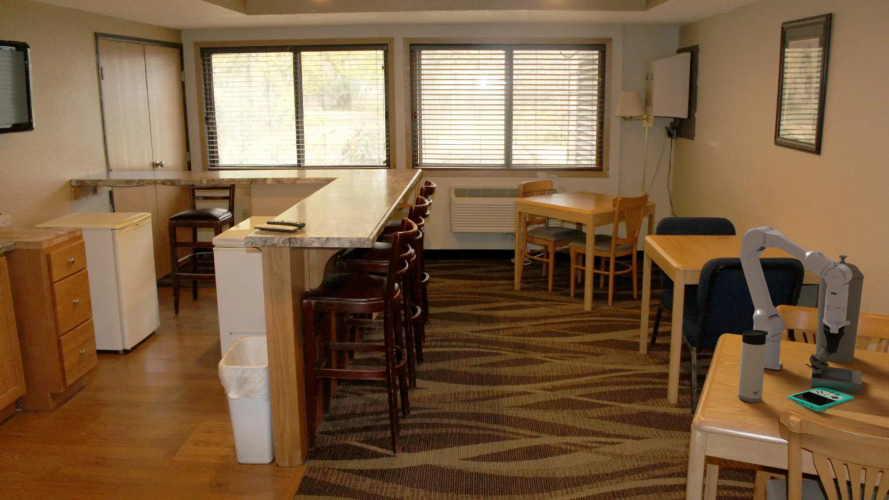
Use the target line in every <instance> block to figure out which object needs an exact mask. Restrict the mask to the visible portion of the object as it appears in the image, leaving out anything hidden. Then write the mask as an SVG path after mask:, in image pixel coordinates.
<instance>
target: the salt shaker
mask: <svg viewBox="0 0 889 500" xmlns="http://www.w3.org/2000/svg"><path fill="white" fill-rule="evenodd" d="M831 354H832V353H829V352H828V350H827V343H826V344H825V345H824V346H823V348H822V349H821V350H820V352H819V353H817V354H816V353H814V354H812V353H810V355H811V356H810V357H809V362H810V364H811V365H810V364H809V363H805V364H804V365H805V366H807V368H810V369H811V370H812V369H813V370H814V371H816V372H818V373H819V374H821V372H819V371H818V369H821V370H823V369H826V368H827V367H831V366H830V364H829V363H828V362H829V360H828V359H829V357H830V356H831ZM821 375H822V374H821Z"/></svg>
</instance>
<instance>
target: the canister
mask: <svg viewBox="0 0 889 500" xmlns="http://www.w3.org/2000/svg"><path fill="white" fill-rule="evenodd" d="M838 257H839V258H840V261H837V262H838V264H845V265H847V266H848V267H849V268H850V269H851V271H852V274H853V276H852V279H851V280H850V281H849V282H848V283H849V287H848V301H847V312H846V321H850V325H845V328H844V330H843V331H845V334H844V335H843V337H842V338H841V340H840V342H839V346H838V349H837V352H836V353H832V354H831V356H830V357H829V359H828V362H829V361H830V362H834V363H839V362H841V363H842V364H844V363H845V364H846V363H847V362H848V363H851V361H852V360H853V361H854V357H855V351H856V350H855V349H856V340H857V333H858V326H859V320H860V319H859V317H860V310H861V302H862V293H863V286H864V284H863V283H864V279H865V276H864V273H863V272H862V271H861V270H860V269H859V267H858V266H857V265H856V264H854V263H850V262H846V259H847V258H848V255H846V254H839V255H838ZM846 284H847V283H846ZM826 289H827V283H826V282H825V280H824V278H822V277H820V276H819V288H818V303H817V304H818V305H817V320H816V321H817V323H816V324H817V326H816V339H815V340H816V344H815V354H817V353H819V352H820V350H821V349H822V348H823V346H824V345H825V344H826V343H827V341H826V337H825V334H824V332H823V328H824V326H823V324H825V323H823V319H824V310H825V299H826ZM853 361H852V362H853Z"/></svg>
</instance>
